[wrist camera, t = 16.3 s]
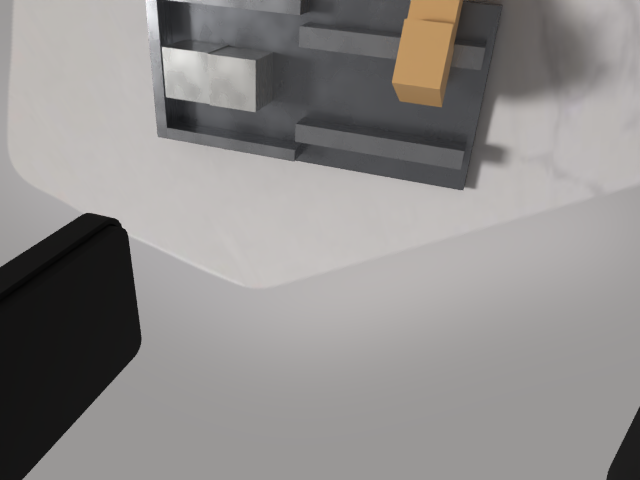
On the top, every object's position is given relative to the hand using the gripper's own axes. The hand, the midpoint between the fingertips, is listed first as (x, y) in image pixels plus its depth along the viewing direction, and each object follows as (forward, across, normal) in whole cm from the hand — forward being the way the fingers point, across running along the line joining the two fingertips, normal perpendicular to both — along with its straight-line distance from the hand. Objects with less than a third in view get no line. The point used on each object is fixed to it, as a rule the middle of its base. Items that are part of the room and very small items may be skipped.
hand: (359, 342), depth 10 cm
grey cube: (+36, +18, +5) cm, 40 cm away
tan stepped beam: (+29, +3, +3) cm, 30 cm away
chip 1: (+36, +22, +5) cm, 42 cm away
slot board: (+36, +12, +5) cm, 39 cm away
